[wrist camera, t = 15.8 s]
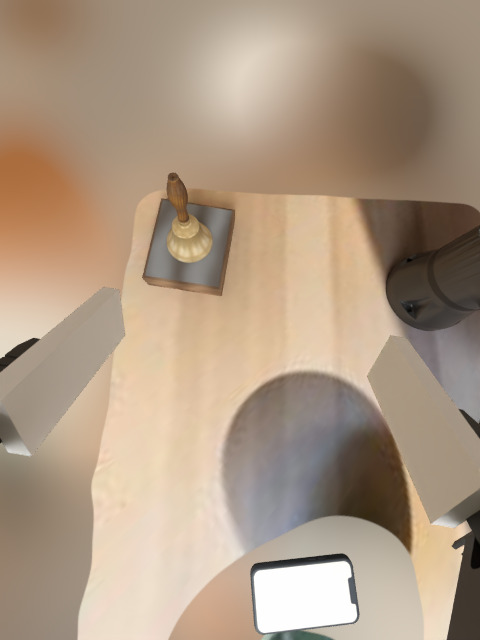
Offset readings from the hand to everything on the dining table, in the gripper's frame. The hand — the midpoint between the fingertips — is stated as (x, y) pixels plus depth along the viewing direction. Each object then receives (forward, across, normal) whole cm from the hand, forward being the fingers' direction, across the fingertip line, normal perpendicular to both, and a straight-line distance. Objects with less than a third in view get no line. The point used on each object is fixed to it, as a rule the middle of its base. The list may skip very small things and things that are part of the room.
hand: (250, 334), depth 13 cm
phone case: (+2, +16, -48) cm, 51 cm away
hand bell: (+36, -12, -8) cm, 39 cm away
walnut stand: (+39, -12, -11) cm, 42 cm away
